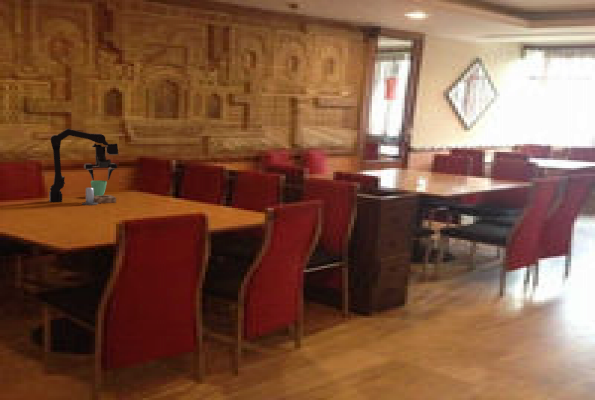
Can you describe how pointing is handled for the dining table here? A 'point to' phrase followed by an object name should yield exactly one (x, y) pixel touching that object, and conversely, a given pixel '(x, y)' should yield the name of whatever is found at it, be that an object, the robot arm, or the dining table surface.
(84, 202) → the coaster
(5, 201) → the dining table surface
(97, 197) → the frame
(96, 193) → the mug
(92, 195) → the grey rounded cylinder
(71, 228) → the dining table surface
